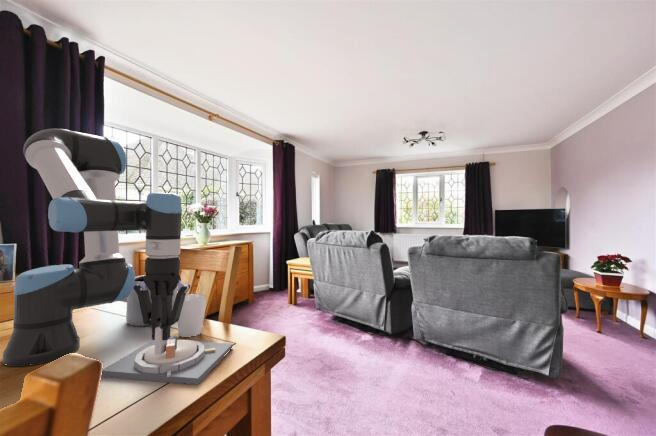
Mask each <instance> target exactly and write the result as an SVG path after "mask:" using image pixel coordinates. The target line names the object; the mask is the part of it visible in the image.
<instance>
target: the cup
mask: <svg viewBox="0 0 656 436" xmlns="http://www.w3.org/2000/svg"><path fill="white" fill-rule="evenodd" d="M206 298H207V297H206V295H205V294H202V293H188V294H187V293H186V295H185V299H184V303H183V307H182V310H181V314H180V318H179V321H178V322H176V324H177V330H178V335H179V337H180V336H183V337H189V336H195V335H198V334H199V335H201V334H202V331H203V330H202V329H203V324H204V320H205V314H206V313H205V312H206V308H207V300H206ZM200 333H201V334H200ZM199 335H198V336H199ZM183 337H182V338H183ZM195 337H196V336H195Z"/></svg>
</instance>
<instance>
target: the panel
mask: <svg viewBox="0 0 656 436" xmlns="http://www.w3.org/2000/svg"><path fill="white" fill-rule="evenodd" d="M181 340H184V339H182V338H181ZM189 340H190V341H193V342H195V343H196V344H197V353H196V354H194V355H193V356H192V357H190V358H187V359H185V360H182V361H179V362H176V363H169V364H163V365H158V364H147V363H146V362H144V356H145V351H146V350H147V349H149V348H150V347H152V346H154V345H155V340H152V339H151V340H150V341H148V342H147V343H146V344H144V345H142V346H140V347H138V348H137V349H135V350H133V351H132V352H130V353H129V354H127V355H125V356H123V357H122V358H120V359H118V360H116V361H115V362H113V363H111V364H110V365H108V366H107V367H104V368H103V369H101V370H102V377H101V378H108V377H109V378H110V379H121V380H134V381H145V382H157V383H159V382H160V383H167V382H169V383H170V384H179V383H186V384H185V385H191V384H195V386H198V385H199V384H200V383H201V382H202V381H203V380H204V379H205V378H206V377H207V376H208V375H209V374H210V373H211V372H212V371H213V370H214V369H215V368H216V366H217V365H218V364H219V363H220V362H221V361H222V360H223V359H224V358H225V357H224V355H225V354H226V353H227V352H228V351H229V350H230V349H231V348H232V346H233V343H225V342H213V341H212V342H211V341H201V340H200V341H198V340H193V339H189ZM233 347H234V346H233ZM223 357H224V358H223ZM222 358H223V359H222ZM221 359H222V360H221ZM220 360H221V361H220ZM219 361H220V362H219ZM218 362H219V363H218ZM217 363H218V364H217ZM216 364H217V365H216ZM215 365H216V366H215ZM214 367H215V368H214ZM213 368H214V369H213ZM212 369H213V370H212ZM211 370H212V371H211ZM210 371H211V372H210ZM209 372H210V373H209ZM208 373H209V374H208ZM207 374H208V375H207ZM206 375H207V376H206ZM205 376H206V377H205ZM204 377H205V378H204ZM203 378H204V379H203ZM169 383H168V384H169Z"/></svg>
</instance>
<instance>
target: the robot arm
mask: <svg viewBox="0 0 656 436" xmlns="http://www.w3.org/2000/svg"><path fill="white" fill-rule="evenodd" d="M22 150H23V151H22V152H23V156H24V158H25V160H26V162H27V163H28V164H29V166H31V168H33V169H36V170H37V172H38V174H39V175H40V178H41V179H42V181H43V183H44V185H45V186H46V188H47V191H48V192H49V194H50V196H51V198H52V200H51V201H49V205H48V213H47V217H48V218H47V219H48V224H49V226H50V228H51V229H52V230H53V231H55V232H68V233H69V232H70V233H83V236H84V255H85V256H84V257H83V258H82V259H81V260H80V261H79V262H78V263H79V265H78V266H79V267H78V268H75V267H74V264H73V265H72V264H58V265H57V264H54V265H53V264H52V265H47V266H41V267H37V268H33V269H30V270H26V271H24V272H21V273H20V274H18V275H17V276H16V278H15V281H14V288H13V291H12V294H13V296H14V297H13V328H12V329H13V330H12V333H11V335H10V337H9V339H8V342H7V345H6V347H5V349H4V350H3V352H2V364H3V363H4V364H7V365H10V366H9V367H15V366H16V367H24V366H23V365H29V366H31V365H30V364H36V365H40V364H44V363H49V362H53V361H56V360H59V359H61V358H60V357H62V356H64V355H66V354H69V353H71V354H73V353H74V352H76V351H77V350H79V348H80V342H81V341H80V340H81V339H80V335H78V332H77V328H76V326H75V324H74V321H73V311H74V310H79V309H80V310H81V309H83V308H89V307H94V306H101V305H105V304H113V303H115V302H116V303H117V302H121V301H122V300H126V299H127V297H128V296H129V295H130V293H131V291H132V289H133V286H134V281H135V277H136V273H135V269H134V265H132V264H131V263H129V262H126V257H125V256H124V255H122V254H121V253H120V244H119V232H129V231H130V232H137V231H142V232H143V231H145V256H147V257H145V260H144V262H145V263H144V272H145V275H146V276H145V278H144V281H143V282H142V283H140V284H137V285H135V286H134V290H135V292H136V293H137V295H138V299H139V304H140V309H141V313H142V318H143V323H144V324H145V325H147V324H148V325H150V326H149V327H151V341H152V340H155V355H161V354H163V353H164V352H165V351H166V345H167V339H169V338H170V336H171V328H172V327H171V326H173V325H175V324H177V322H178V321H179V318H180V314H181V310H182V307H183V303H184V299H185V295H186V294H187V292H188V291H189V290H190V289H191V284H188V283H187V284H186V283H184V282H183V281H182V277H181V276H180V272H181V269H180V268H181V258H180V256H179V255H181V243H182V242H181V236H182V213H183V209H182V197H181V196H180V194H177V193H170V192H169V193H168V192H150V193H148V194H147V196H146V201H131V200H130V201H129V200H117V198H116V185H115V184H116V181H117V180H119V179H120V178H121V176H120V175H122V174H124V173H125V171H126V168H127V165H126V164H128V163H127V162H128V160H127V155H126V151H125V148H124V147H123V145H122V144H121V143H120V142H119V141H118V140H117V139H112V138H108V137H106V136H99V135H95V134H91V133H90V134H89V133H85V132H79V131H75V130H69V129H64V128H47V129H42V130H40V131H37V132H35V133H33V134H32V135H31V136H28V138H27V139H26V141H25V142H24V144H23V149H22ZM176 287H177V295H176V298H175V302H174V305H173V309H172V297H173V292H174V290H175V289H176ZM148 289H149V290H150V296H149V292H148ZM150 298H151V301H150ZM161 320H162V321H161ZM72 352H73V353H72ZM69 355H70V354H69ZM64 357H65V356H64ZM58 358H59V359H58ZM62 358H63V357H62ZM39 363H40V364H39ZM4 364H3V365H4Z"/></svg>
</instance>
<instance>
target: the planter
mask: <svg viewBox="0 0 656 436" xmlns="http://www.w3.org/2000/svg"><path fill="white" fill-rule="evenodd" d="M145 276H146V274H142V275H141V274H140V275H135V281H134V286H135V285H137V284H140V283H142V282H143V281H144V278H145ZM134 286H133V289H132V291H131V293H130V295H129V296H128V297H127V298H126V312H125V313H126V314H125V317H126V319H125V320H126V323H128V324H129V325H131V326H134V327H151V326H150V325H148V324H147V325H145V324H144V323H143V318H142V313H141V309H140V304H139V299H138V295H137V293H136V292H135V290H134ZM177 288H178V286H177V287H176V289H175V290H174V292H173V297H172V309H173V305H174V302H175V298H176V295H177V293H178V291H177ZM148 292H149V296H150V290H149V289H148ZM150 301H151V298H150ZM161 321H162V320H161Z"/></svg>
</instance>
